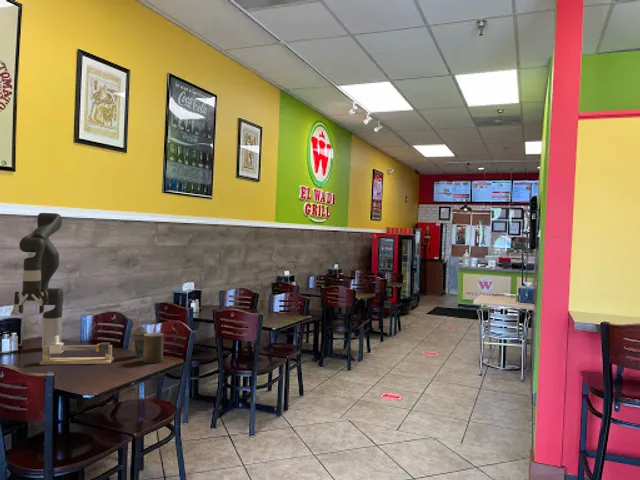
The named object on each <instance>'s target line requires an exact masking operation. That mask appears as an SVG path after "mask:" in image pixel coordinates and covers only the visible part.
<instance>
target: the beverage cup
mask: <svg viewBox="0 0 640 480" xmlns="http://www.w3.org/2000/svg"><path fill="white" fill-rule="evenodd" d="M147 333H148V329H146V328H145V327H144V326H141V319H140V318H138V327H137V328H136V329H135V330H134V331H133V339H134V341H133V342H134V353H135V358H143V347H144V334H147Z"/></svg>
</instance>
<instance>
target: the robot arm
mask: <svg viewBox="0 0 640 480" xmlns="http://www.w3.org/2000/svg"><path fill="white" fill-rule="evenodd" d="M36 220H37V221H36V223H37V227H36V228H35V229H33V231H32V232H31V233H30V234H27V235H26V236H24V237H22V238H21V240H20V241H19V244H18V247H19V249H20V251H22V253H31V254H32V253H35V255H34V256H31V257H25V258H24V259H23V272H22V291H20V290H18V291H17V290H16V291H15V292H14V299H13V303H14V305H18V312H19V314H23V313H24V304H25V302H29V301H33V302H34V301H35V302H36V303H37V304H38V305H39V309H38V311H39V312H38V313H39V314H42V330H41V331H42V336H41V339H42V340H41V350H42V351H43V346H49V344H51V343H54V337H55V336H59V342H62V328H63V327H62V325H63V324H62V323H63V322H62V321H63V318H62V317H63V304H64V290H63V289H62V288H57V287H55V288H54V287H53V288H49V283H50V281H51V279H52V277H53V276H54V275H55V273H56V272H57V271H58V268H59V266H60V255H59V254H60V253H59V251H58V249H57V248H56V247H55V246H54V244H53V243H52V241H51V240H50V239H49V237H51V236H52V235H54V233H56V232H57V231H59V230H60V229H61V227H62V225H63V218H62V216H61V215H60V213H57V212H56V213H55V212H40V213H39V214H38V215H37V218H36ZM21 295H22V298H21V300H20V296H21ZM45 306H54V308H52V309H51V310H50V309H49V310H47V311H45ZM44 311H45V312H44Z"/></svg>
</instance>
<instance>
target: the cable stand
mask: <svg viewBox="0 0 640 480" xmlns="http://www.w3.org/2000/svg"><path fill="white" fill-rule="evenodd" d="M61 351H63V352H64V351H95V352H96V353H98V354H105V356H97V357H96V356H95V357H94V356H93V357H51V354H49V346H43V350H42V358H41V359H42V360H41V361H39V365H92V364H97V365H102V364H109V363H110V364H111V363H112V361H114V357H113V344H111V342H108V341H107V342H102V341H101V342H100V343H97V344H95V345H94V344H93V345H92V344H90V345H63V346H61Z"/></svg>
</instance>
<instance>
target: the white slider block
mask: <svg viewBox="0 0 640 480" xmlns="http://www.w3.org/2000/svg"><path fill="white" fill-rule="evenodd" d="M61 346H64V341H63V342H62V341H61V342H59V336H55V337H54V343H51V344H49V354H50V355H60V354H62V353H63V352H64V351H61Z"/></svg>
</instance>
